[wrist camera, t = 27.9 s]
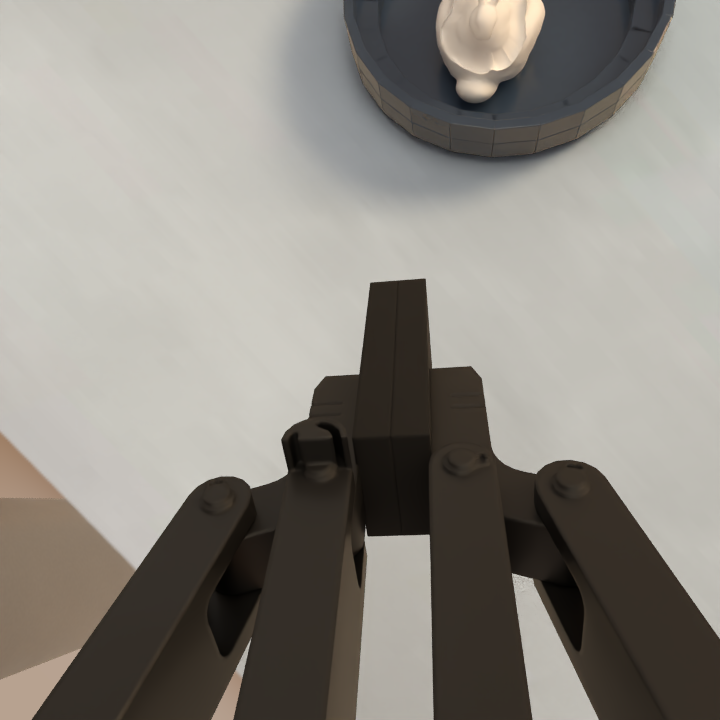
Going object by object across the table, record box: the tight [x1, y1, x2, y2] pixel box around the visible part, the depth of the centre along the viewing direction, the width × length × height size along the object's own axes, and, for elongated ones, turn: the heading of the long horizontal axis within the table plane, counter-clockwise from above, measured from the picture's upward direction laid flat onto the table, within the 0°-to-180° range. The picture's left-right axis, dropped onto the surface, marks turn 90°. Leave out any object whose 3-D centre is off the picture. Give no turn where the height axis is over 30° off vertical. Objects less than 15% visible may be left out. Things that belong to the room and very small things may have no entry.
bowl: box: [344, 0, 676, 157], centre depth 42 cm, size 19×19×4 cm
